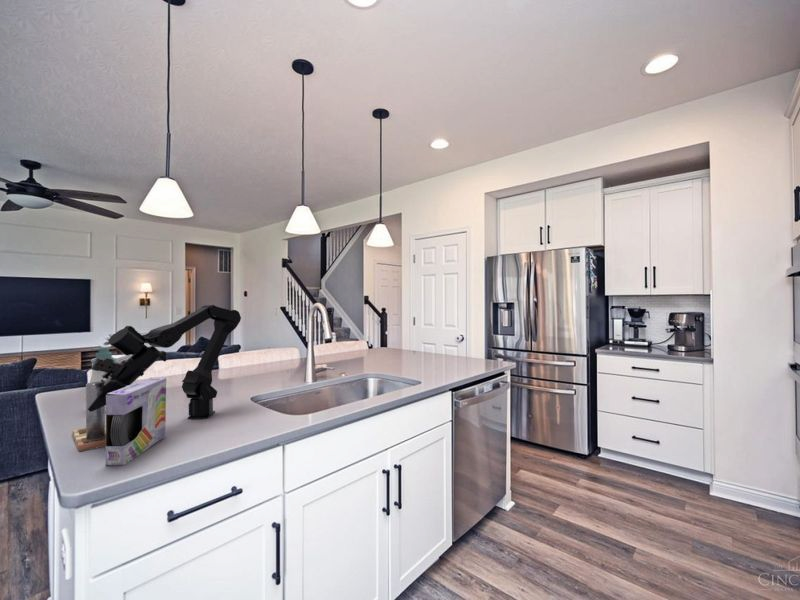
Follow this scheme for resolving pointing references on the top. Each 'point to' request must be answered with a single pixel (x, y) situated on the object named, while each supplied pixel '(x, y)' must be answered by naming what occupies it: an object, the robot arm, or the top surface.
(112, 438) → the cake pan box
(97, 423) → the steel pin
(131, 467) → the top surface
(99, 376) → the soap bottle
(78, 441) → the socket rail
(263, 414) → the top surface
